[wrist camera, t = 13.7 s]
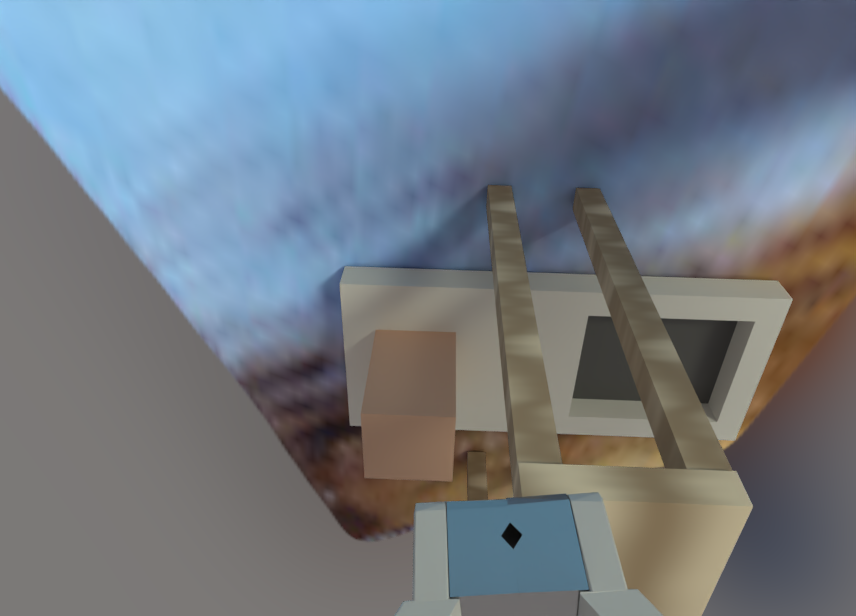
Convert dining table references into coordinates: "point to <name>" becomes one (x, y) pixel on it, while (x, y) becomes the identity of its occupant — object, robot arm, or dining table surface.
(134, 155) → the dining table surface
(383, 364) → the block
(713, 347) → the tray
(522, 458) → the arch
